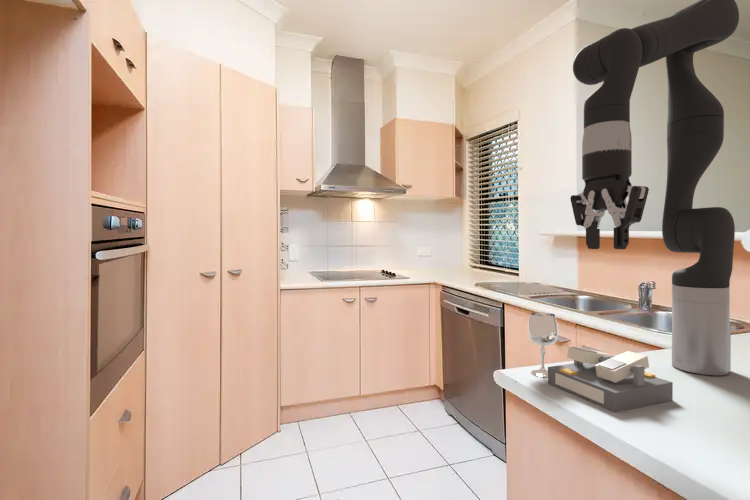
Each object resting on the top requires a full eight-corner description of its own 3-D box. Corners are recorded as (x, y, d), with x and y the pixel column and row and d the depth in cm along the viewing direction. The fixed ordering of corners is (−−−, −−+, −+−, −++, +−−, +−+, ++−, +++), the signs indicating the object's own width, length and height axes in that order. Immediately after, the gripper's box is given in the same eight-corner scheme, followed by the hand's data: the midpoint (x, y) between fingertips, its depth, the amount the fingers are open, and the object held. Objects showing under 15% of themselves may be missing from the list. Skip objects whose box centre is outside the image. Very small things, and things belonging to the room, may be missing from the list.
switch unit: (599, 374, 79) (599, 343, 79) (672, 400, 66) (672, 363, 66) (547, 382, 75) (547, 350, 75) (614, 412, 62) (614, 372, 62)
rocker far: (627, 360, 71) (625, 349, 71) (651, 367, 67) (649, 355, 67) (594, 375, 68) (592, 363, 68) (618, 383, 64) (615, 371, 64)
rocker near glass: (596, 361, 77) (598, 349, 77) (617, 367, 72) (619, 355, 73) (565, 356, 74) (567, 345, 74) (584, 363, 70) (586, 351, 70)
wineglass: (561, 379, 77) (561, 317, 77) (530, 377, 78) (530, 316, 78) (554, 370, 82) (554, 312, 82) (525, 368, 84) (525, 311, 83)
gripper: (662, 144, 64) (662, 249, 65) (587, 161, 78) (588, 248, 78) (629, 140, 62) (629, 249, 62) (558, 159, 75) (558, 249, 76)
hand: (606, 248), depth 70 cm, fingers open, 4 cm apart
